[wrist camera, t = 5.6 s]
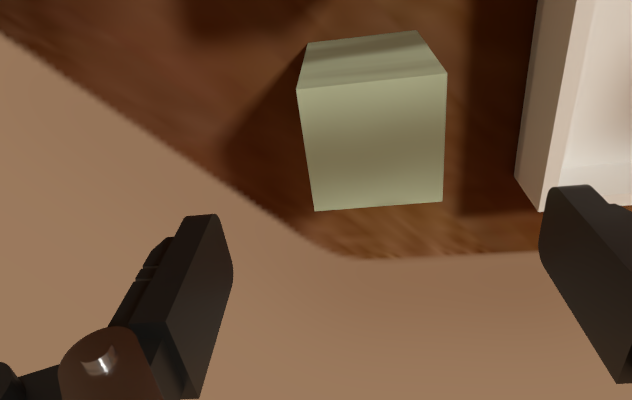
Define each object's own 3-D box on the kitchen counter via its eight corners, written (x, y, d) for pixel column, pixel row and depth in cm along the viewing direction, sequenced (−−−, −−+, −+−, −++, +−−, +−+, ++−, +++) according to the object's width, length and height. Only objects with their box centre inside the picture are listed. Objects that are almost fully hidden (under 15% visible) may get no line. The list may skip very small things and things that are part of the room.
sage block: (307, 43, 18) (295, 89, 13) (416, 29, 18) (447, 73, 13) (320, 140, 21) (314, 211, 16) (416, 131, 20) (442, 201, 15)
